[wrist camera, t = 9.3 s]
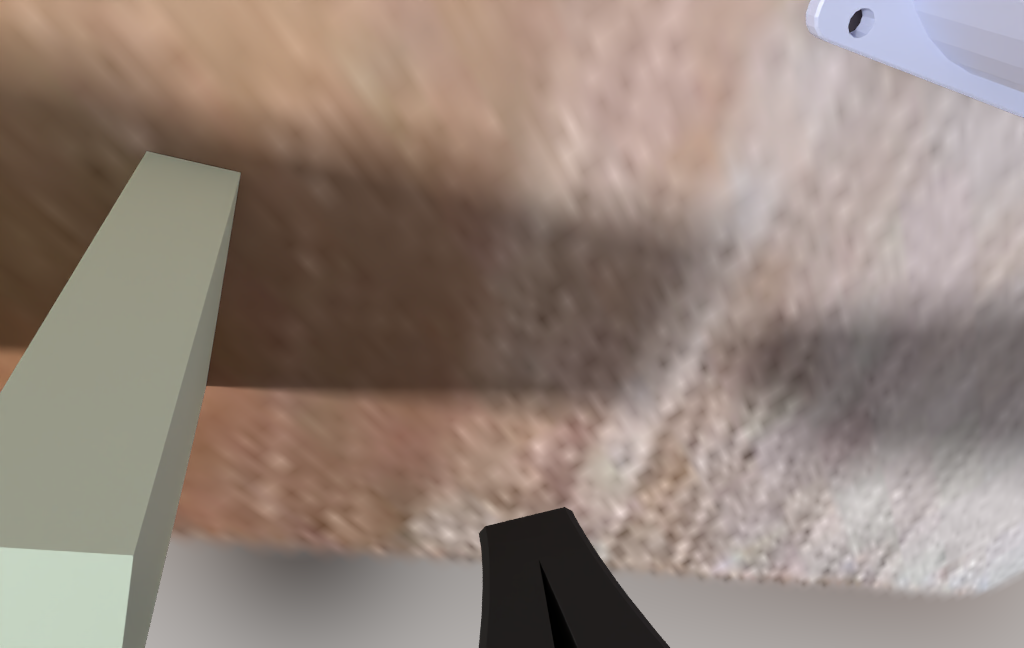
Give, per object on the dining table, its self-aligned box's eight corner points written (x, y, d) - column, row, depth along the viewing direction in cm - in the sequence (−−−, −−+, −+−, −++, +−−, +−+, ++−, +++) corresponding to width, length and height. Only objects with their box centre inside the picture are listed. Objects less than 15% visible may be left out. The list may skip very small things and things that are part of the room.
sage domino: (240, 172, 14) (132, 554, 6) (206, 385, 16) (97, 850, 9) (146, 150, 13) (-90, 541, 6) (124, 375, 16) (-67, 859, 8)
